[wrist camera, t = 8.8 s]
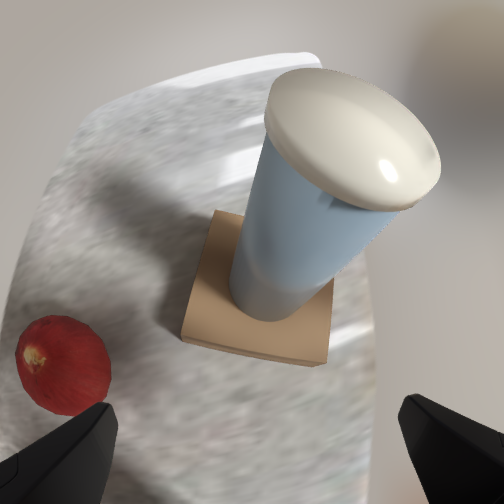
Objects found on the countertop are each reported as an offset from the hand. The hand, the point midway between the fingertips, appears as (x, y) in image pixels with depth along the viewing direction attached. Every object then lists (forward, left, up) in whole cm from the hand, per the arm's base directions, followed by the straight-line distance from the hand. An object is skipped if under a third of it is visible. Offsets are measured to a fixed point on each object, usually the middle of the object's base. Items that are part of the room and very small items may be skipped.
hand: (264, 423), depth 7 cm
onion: (+3, +9, -11) cm, 15 cm away
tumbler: (+7, -4, -9) cm, 12 cm away
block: (+7, -4, -11) cm, 14 cm away
